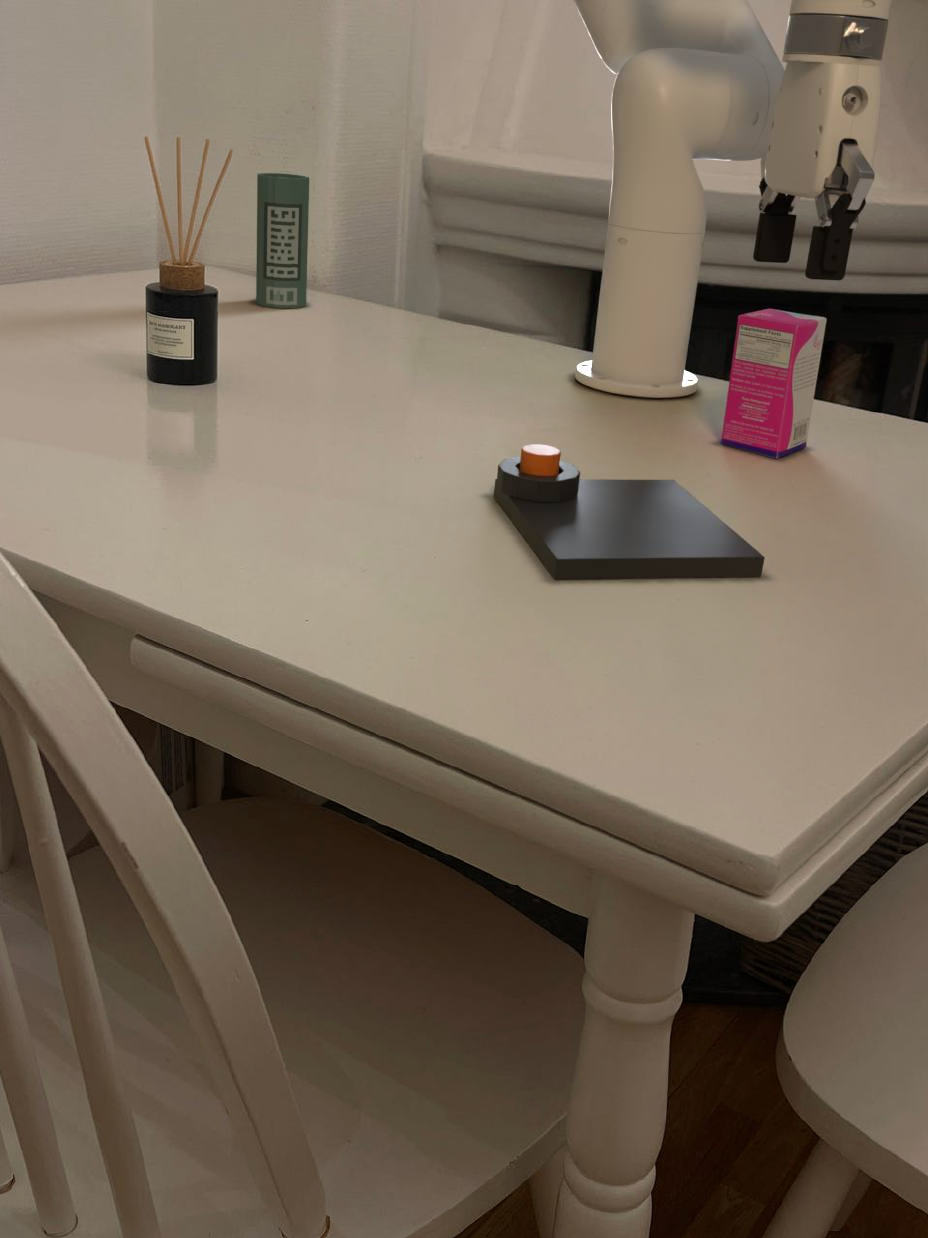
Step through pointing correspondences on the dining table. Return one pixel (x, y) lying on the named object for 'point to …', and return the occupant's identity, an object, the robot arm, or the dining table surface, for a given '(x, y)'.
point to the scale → (620, 527)
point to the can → (282, 240)
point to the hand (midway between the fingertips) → (796, 269)
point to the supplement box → (772, 381)
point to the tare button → (540, 460)
